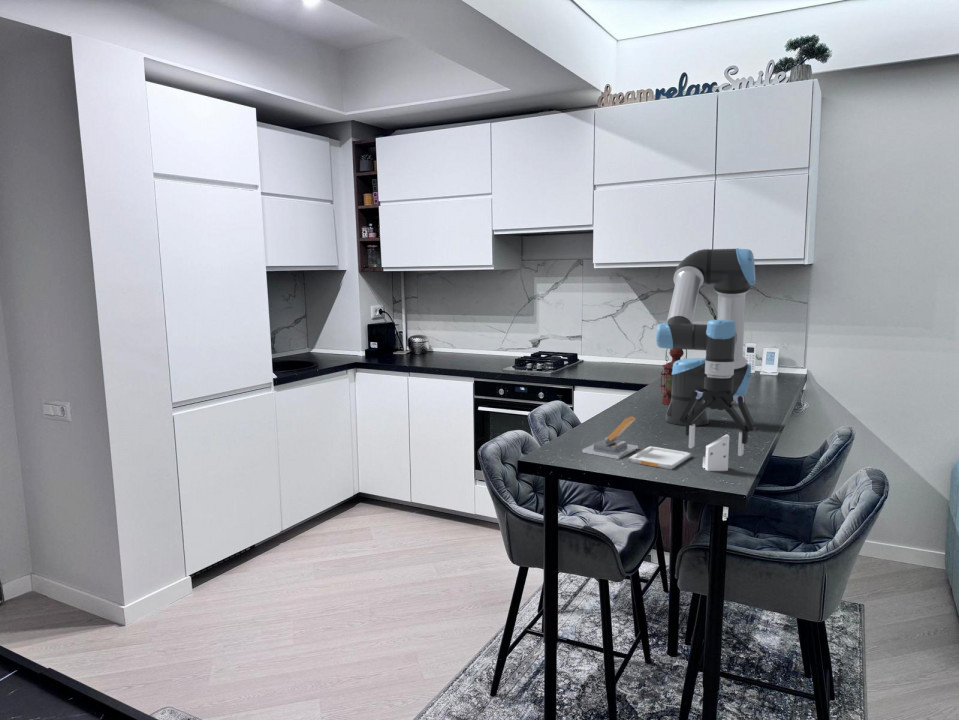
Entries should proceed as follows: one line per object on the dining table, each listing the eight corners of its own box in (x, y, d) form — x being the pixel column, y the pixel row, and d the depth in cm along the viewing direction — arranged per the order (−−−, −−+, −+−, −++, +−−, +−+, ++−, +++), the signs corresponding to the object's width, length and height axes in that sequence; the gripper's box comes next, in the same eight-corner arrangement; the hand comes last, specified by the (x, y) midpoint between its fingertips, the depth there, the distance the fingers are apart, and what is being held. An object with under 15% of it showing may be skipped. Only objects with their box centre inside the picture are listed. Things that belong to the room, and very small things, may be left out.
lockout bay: (649, 449, 207) (650, 446, 207) (691, 456, 199) (691, 452, 199) (627, 461, 194) (627, 457, 194) (671, 469, 186) (671, 465, 186)
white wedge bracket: (743, 461, 185) (729, 435, 184) (712, 479, 186) (697, 453, 184) (738, 458, 189) (724, 432, 188) (707, 475, 189) (693, 450, 188)
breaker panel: (603, 442, 215) (603, 435, 215) (637, 448, 208) (638, 441, 208) (582, 452, 204) (582, 444, 204) (618, 458, 197) (618, 450, 197)
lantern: (687, 400, 283) (690, 330, 279) (691, 406, 271) (694, 333, 267) (658, 400, 286) (660, 330, 282) (660, 405, 274) (663, 332, 270)
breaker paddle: (610, 437, 209) (632, 415, 203) (614, 441, 208) (636, 419, 203) (603, 440, 204) (624, 418, 199) (607, 445, 204) (629, 422, 199)
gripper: (670, 373, 188) (667, 446, 191) (763, 382, 173) (758, 461, 176) (679, 370, 194) (676, 441, 197) (770, 378, 179) (766, 455, 182)
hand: (715, 451), depth 186 cm, fingers open, 13 cm apart
